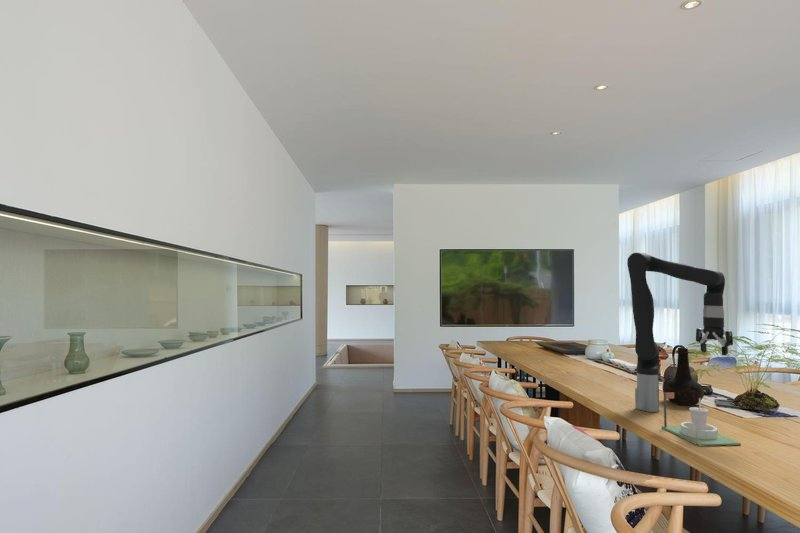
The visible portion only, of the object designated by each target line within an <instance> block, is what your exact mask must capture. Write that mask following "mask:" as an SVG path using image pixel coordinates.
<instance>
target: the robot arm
mask: <svg viewBox="0 0 800 533" xmlns="http://www.w3.org/2000/svg"><path fill="white" fill-rule="evenodd" d="M626 262H627V263H626V264H627V270H628V274H629V281H630V292H631V307H632V315H633V322H634V327H635V328H634V329H635V343H634V344H635V345H634V346H635V347H634V348H635V355H636V356H637V362H636V363H637V364H636V387H635V388H634V395H635V396H634V400H635V401H634V402H635V403H634V404H635V405H634V408H635V409H637V410H639V411H642V412H647V413H649V412H650V413H656V412H657V413H659V411H660V388H659V385H660V384H659V383H660V382H659V380H660V378H659V377H660V376H659V368H660V351H659V350H660V349H659V345H658V344H657V342H655V338H654V323H655V322H654V321H655V320H654V319H655V303H654V297H653V294H652V292H651V289H650V287H649V284H648V281H647V280H648V279H647V272H651V273H660V274H664V275H667V276H670V277H672V278H676V279H680V280H682V281H687V282H694V283H696V284H699V285H703V286H706V291H705V293H703V310H702V320H703V321H702V322H703V324H702V326H703V328H701V327H700V328H696V330H695V341H696V342H697V343H700V351H701V353H702V354H703V353H704V354H705V353H707V342H708V341H710V340H714V341H718V342H719V343H720V345H721V356H727V355H728V353H729V352H728V351H729V349H728V348H729V346H733V345H734V340H733V331H732V330H725V329H724V328H725V310H724V291H725V286H726V285H725V284H726V278H725V275H724V273H723V272H721V271H720V270H713V269H707V268H701V267H699V266H695V265H692V264H691V265H690V264H685V263H682V262H681V263H680V262H674V261H670V260H669V261H668V260H664V259H661V258H658V257H655V256H652V255H650V254H648V253H645V252H633V253H630V255H629V256H628V257H627V261H626ZM703 334H704V335H703ZM724 336H725V337H724Z"/></svg>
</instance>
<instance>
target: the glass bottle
mask: <svg viewBox="0 0 800 533" xmlns="http://www.w3.org/2000/svg"><path fill="white" fill-rule="evenodd" d="M688 350H689V349H688V348H685V347H677V350H676V351H675V353H677V364H676V373H675V376H673V377H672V378H671V377H668V378H666V379H665V380H664V381H663V383H662V393H663V394H664V392H665V393H672V392H674V398H669V399H668V400H669V401H670V402H671V403H673V404H676V405H679V406H688V407H689V406H690V407H691V406H694V405H698V404H699V398H701V401H702V400H703V399H704V396H705V390H704V388H703V387H702V385H701V384H700V383H699V382H698V381H696V380H695V379H693V377H692V374H691V370H690V363H689V354H690V353H691V352H690V351H688Z"/></svg>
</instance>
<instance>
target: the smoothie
mask: <svg viewBox="0 0 800 533" xmlns="http://www.w3.org/2000/svg"><path fill="white" fill-rule="evenodd" d="M701 401H702V400H701V398H699V403H698V407H697V406H696V407H695V406H693V407H691V406H690V407H689V408H688V412H689V413H690V414H689V415H690V419H691V421H690V422H692V427H693V429H696V430H705V428H706V424H707V419H708V418H707V417H708V414H709V410H708V409H707V408H705V407H704V408H703V407H702V405H701V404H702V403H701Z"/></svg>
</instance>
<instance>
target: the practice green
mask: <svg viewBox="0 0 800 533" xmlns="http://www.w3.org/2000/svg"><path fill="white" fill-rule="evenodd" d="M669 398H674V392H672V393H665V392H664V393H663V418H664V419H663V421H664V424H663V425H661V429H663V430H664V431H667V432H669V431H670V432H669V433H671V432H672V433H671V434H673V433H674V435H675V434H676V435H675V436H677V435H678V436H677V437H679V436H680V437H679V438H681V437H682V438H681V439H683V438H685V439H687V440H686V441H688V440H689V441H688V442H690V441H691V442H690V443H692V442H694V443H696V444H698V445H738V446H741V445H742V443H741V442H740V441H739V442H738V441H736V440H734V439H732V438H729V437H727V436H724V435H722V434H719V433H718V432H719V431H718V428H717V427H716V426H713V425H712V424H708V423H706V428H705V430H696V429H693V427H692V421H684V422H683V421H682V422H681V423H680V425H667V400H669ZM685 439H684V440H685ZM694 443H693V444H694ZM696 444H695V445H696ZM698 445H697V446H698Z"/></svg>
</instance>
